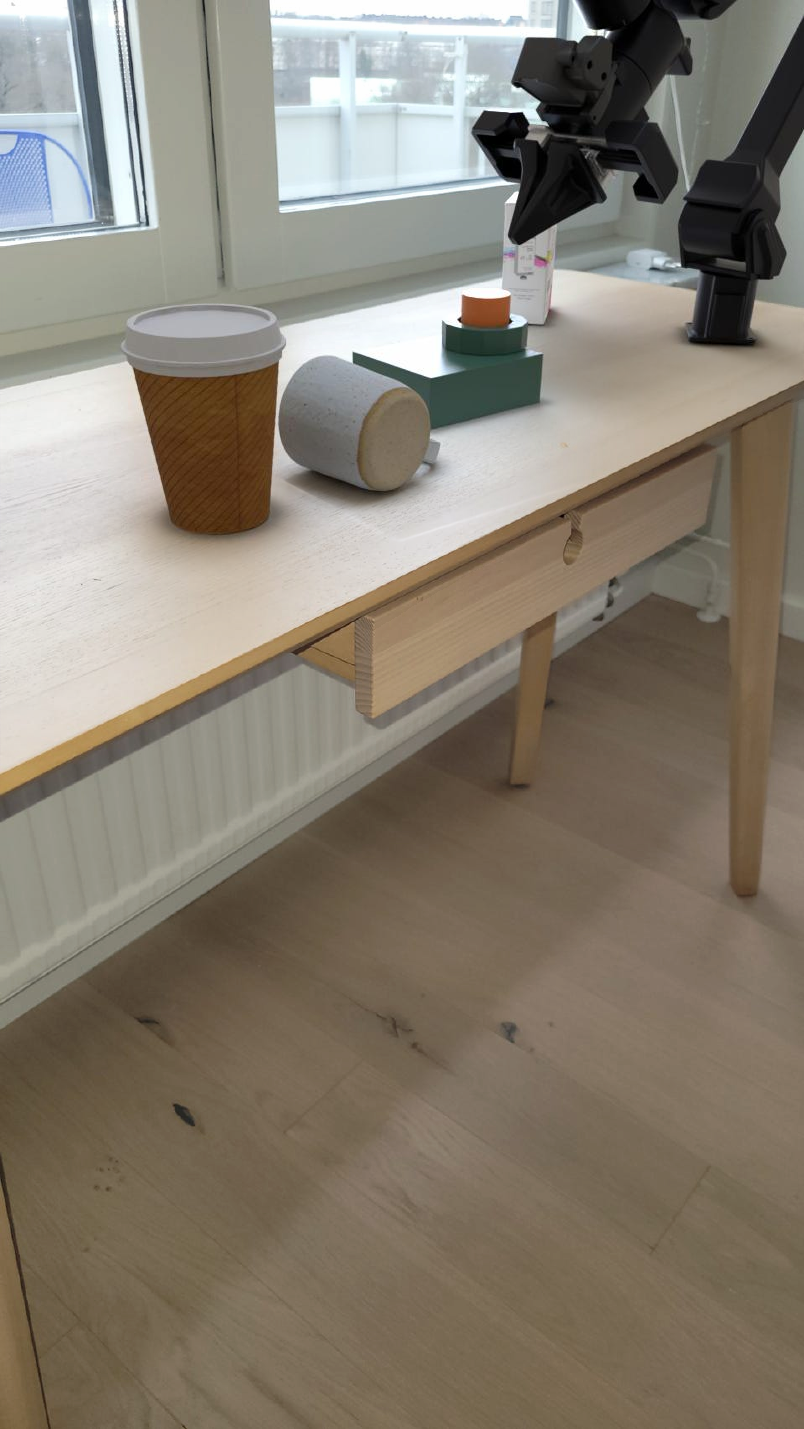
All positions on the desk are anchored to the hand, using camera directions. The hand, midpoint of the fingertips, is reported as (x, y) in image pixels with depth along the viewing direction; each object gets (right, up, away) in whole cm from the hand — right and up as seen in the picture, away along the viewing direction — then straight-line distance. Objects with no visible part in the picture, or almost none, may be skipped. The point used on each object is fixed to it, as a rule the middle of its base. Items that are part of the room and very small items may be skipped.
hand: (513, 241), depth 86 cm
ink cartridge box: (+4, +5, +30) cm, 30 cm away
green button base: (-5, -12, +3) cm, 14 cm away
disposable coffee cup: (-21, -26, -18) cm, 38 cm away
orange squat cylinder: (-2, -6, +2) cm, 7 cm away
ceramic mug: (-11, -22, -12) cm, 27 cm away
